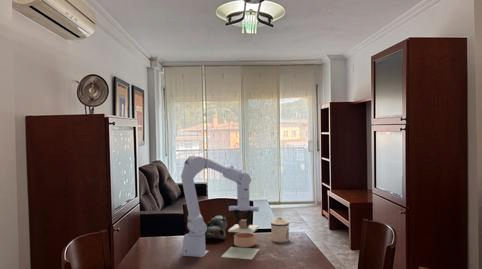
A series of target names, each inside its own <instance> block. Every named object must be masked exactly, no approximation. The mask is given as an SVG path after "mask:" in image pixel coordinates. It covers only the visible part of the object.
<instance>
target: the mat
mask: <svg viewBox="0 0 482 269" xmlns="http://www.w3.org/2000/svg"><path fill="white" fill-rule="evenodd" d="M260 249H261V248H252V247H238V246H230V247H229V248H228V249H227V250H226V251H225V252H224V253H223V254H222V255H221V256H220V257H221V258H229V259H230V258H231V259H243V260H253V259H254V257H255V256H256V254H257V253H258V252H259V250H260Z"/></svg>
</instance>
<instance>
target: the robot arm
mask: <svg viewBox="0 0 482 269" xmlns="http://www.w3.org/2000/svg"><path fill="white" fill-rule="evenodd" d="M183 163H184V164H183V169H182V172H181V176H180V177H181V178H180V179H181V183H182V188H183V193H184V198H185V202H186V207H187V208H186V209H187V212H188V215H187V229H188V230H189V231H188V233H186V234H184V236H183V241H182V242H183V244H182V246H183V250H182V251H183V253H182V256H184V257H197V258H198V257H199V258H202V257H205V255H206V254H208V253H209V252H210V251H209V250H207V249H206V238H205V232H206V230H207V226H208V225H207V223H206V222H205V221H204V217H203V216H202V214H201V211H200V206H199V201H198V195H197V190H196V185H195V180H194V179H195V177H196V176H197V174H199V173H201V172H202V171H203V170H204V169H205V170H207V169H211V170H213V171H216V172H218V173H221V174H222V176H223V177H224V178H225V179H226V180H230V181H232V182H234V183H236V188H237V190H236V191H237V192H236V196H237V205H229V206H228V211H234V212H233V215H234V216H235V218H236V221H237V224H238V225H239V221H240V220H241V219H242V211H243V212H245V216H246V220H247V227H249V225H251V220H252V217H253V214H254V212H256V213H258V212H259V211H260V208H259V206H254V205H253V206H251V205H250V184H251V183H252V178H251V176H250V175H249V174H248V173H245V172H243V170H241V169H237V168H235V166H233V165H228V166H223V165H222V164H219V163H217V162H215V161H213V160H211V159H209V158H205V157H202V156H196V155H190V156H188V158H186V159H185V161H184V162H183Z"/></svg>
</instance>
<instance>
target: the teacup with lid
mask: <svg viewBox="0 0 482 269" xmlns="http://www.w3.org/2000/svg"><path fill="white" fill-rule="evenodd" d="M270 225H271V228H270V229H271V241H272V242H276V243H285V242H286V243H287V242H289V241H290V234H289V232H290V230H289V228H290V226H289V225H290V222H289V221H288V220H286V219H284V218H282V216H278V217H277V218H276V219H274V220H271V223H270Z"/></svg>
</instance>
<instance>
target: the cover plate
mask: <svg viewBox="0 0 482 269" xmlns="http://www.w3.org/2000/svg"><path fill="white" fill-rule="evenodd" d="M259 228H260V225H259V224H257V225H256V224H255V225H254V224H250V225H249V227H247V219H242V218H241V220H240V221H239V225H238V223H237V224H234V225H233V226H231V227H230V228H229V229H228V230H227V232H228V233H253V234H255V232H256V231H257V230H259Z"/></svg>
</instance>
